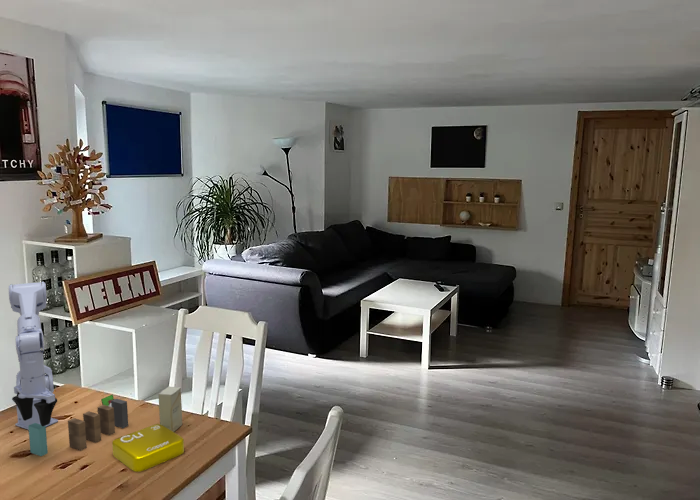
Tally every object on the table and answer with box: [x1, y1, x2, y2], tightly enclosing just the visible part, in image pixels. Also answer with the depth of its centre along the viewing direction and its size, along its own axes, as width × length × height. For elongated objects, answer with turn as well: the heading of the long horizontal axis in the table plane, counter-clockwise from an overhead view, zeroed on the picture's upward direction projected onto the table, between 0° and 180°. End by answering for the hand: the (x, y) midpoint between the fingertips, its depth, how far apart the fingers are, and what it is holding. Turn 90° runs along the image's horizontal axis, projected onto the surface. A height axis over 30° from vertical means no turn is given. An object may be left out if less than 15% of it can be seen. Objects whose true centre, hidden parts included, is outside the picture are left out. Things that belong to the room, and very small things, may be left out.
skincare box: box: [157, 385, 183, 433], centre depth 171 cm, size 6×4×12 cm
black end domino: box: [111, 398, 129, 429], centre depth 173 cm, size 4×2×8 cm, turn 64°
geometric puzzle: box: [100, 393, 118, 407], centre depth 179 cm, size 7×7×8 cm
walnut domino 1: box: [67, 417, 87, 452], centre depth 159 cm, size 4×2×8 cm, turn 64°
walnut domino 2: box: [82, 410, 102, 444], centre depth 164 cm, size 4×2×8 cm, turn 64°
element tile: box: [111, 423, 185, 473], centre depth 157 cm, size 15×15×5 cm
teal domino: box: [27, 423, 49, 457], centre depth 156 cm, size 4×2×8 cm, turn 64°
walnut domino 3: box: [97, 404, 116, 436], centre depth 168 cm, size 4×2×8 cm, turn 64°
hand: (36, 421), depth 155 cm, fingers open, 7 cm apart
